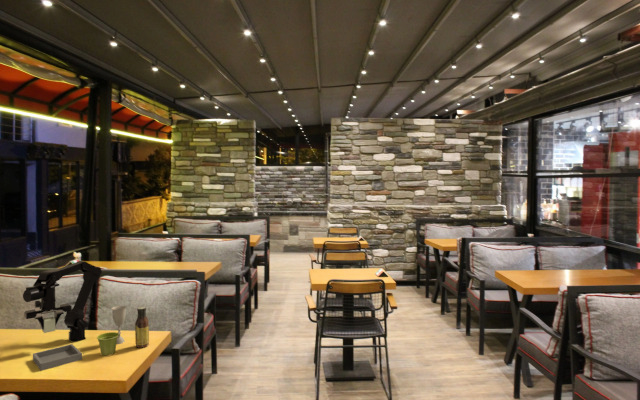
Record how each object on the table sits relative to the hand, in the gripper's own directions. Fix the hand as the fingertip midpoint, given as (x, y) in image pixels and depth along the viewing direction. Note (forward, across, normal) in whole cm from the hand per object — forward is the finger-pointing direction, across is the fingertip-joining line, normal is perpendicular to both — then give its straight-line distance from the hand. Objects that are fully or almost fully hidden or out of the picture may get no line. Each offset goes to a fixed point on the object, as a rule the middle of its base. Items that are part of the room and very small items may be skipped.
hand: (48, 328), depth 195 cm
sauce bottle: (+11, -34, +28) cm, 45 cm away
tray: (+11, 0, +16) cm, 19 cm away
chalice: (+11, -28, +14) cm, 33 cm away
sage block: (+1, 0, 0) cm, 1 cm away
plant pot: (+11, -19, +25) cm, 33 cm away
